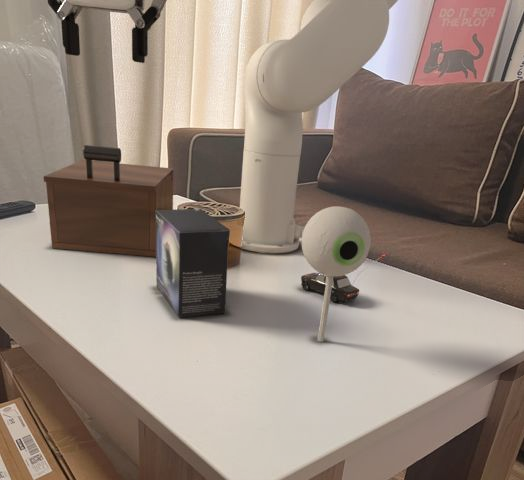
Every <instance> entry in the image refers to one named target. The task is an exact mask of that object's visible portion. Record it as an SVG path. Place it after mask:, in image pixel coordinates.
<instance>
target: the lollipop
mask: <svg viewBox="0 0 524 480" xmlns="http://www.w3.org/2000/svg"><path fill="white" fill-rule="evenodd" d="M304 226H305V228H304V231H303V234H302V238H301V251H302V253H303V256H304V258H305V260H306V262H307V263H308V264H309V266H310V267H311V268H312V269H313V270H315V272H317V273H322V274H324V275H327V281H326V287H325V294H324V293H323V301H322V307H321V313H320V314H321V315H320V319H319V320H320V321H319V328H318V333H317V341H318V342H320V343H323V342H324V340H325V333H326V326H327V320H328V316H329V315H328V314H329V308H330V302H331V300H330V296H331V289H332V283H333V277H334V276H343V275H345V276H347V275H349V274H351V273H353V272H355V271H357V270H358V269H359V268H360V267H361V266H362V265H363V264H364V262H365V261H366V260H367V257H368V255H369V252H370V249H371V243H372V240H371V231H370V228H369V226H368V224H367V221H365V219H364V218H363V217H362V216H361V215H360V213H358V212H357V211H356V210H353V209H352V208H349V207H345V206H338V205H337V206H335V205H333V206H329V207H325V208H323V209H321V210H320V211H317V212H316V213H315V214H313V215H312V216H311V217H310V219H309V220H308V221H307V223H306V224H305V225H304Z"/></svg>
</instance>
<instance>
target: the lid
mask: <svg viewBox="0 0 524 480" xmlns="http://www.w3.org/2000/svg"><path fill="white" fill-rule="evenodd" d="M82 153H83V158H84V159H82V160H79V161H77V162H74V163H72V164H69V165H67V166H64V167H62V168H61V169H58V170H55V171H53V172H50V173H48V174H46V175H43V182H44V183H46V182H52V183H63V184H74V185H85V186H96V187H107V188H118V189H129V190H140V191H151V192H155V191H156V190H157V189H158V188H159V187H160V186H161V185H162V184H163V183H164V182H165V181H166V180H167V179H168V178H169V177H170V176H171V175H172V174H173V175H174V168H172V167H163V166H162V167H161V166H152V165H150V166H149V165H139V164H130V163H121V161H122V150H121V148H120V147H111V146H102V145H93V144H92V145H90V144H84V145H83V148H82Z"/></svg>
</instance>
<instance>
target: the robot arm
mask: <svg viewBox="0 0 524 480" xmlns="http://www.w3.org/2000/svg"><path fill="white" fill-rule="evenodd" d="M398 1H399V0H313V1H311V3H310V4H309V5H308V7H307V9H306V10H305V11H304V14H303V16H302V19H301V23H300V30H299V31H298V32H297V33H296V34H295V35H294V36H292V37H291V38H290V39H287V38H285V39H278V40H272V41H269V42H266V43H264V44H263V45H261V46H260V47H258V48H257V49H256V50H255V51H254V52H253V54H252V55H251V57H250V58H249V60H248V63H247V65H246V69H245V73H244V106H245V109H244V111H245V113H244V114H245V122H244V123H245V124H244V141H243V142H244V143H243V153H242V167H241V183H240V197H239V209H240V208H241V209H243V210H244V211H245V222H244V229H243V240H242V246H241V248H240V249H241V250H245V251H250V252H253V253H254V252H255V253H261V254H262V253H263V254H286V253H292V252H294V251H296V250H298V249H299V246H300V239H302V234H303V231H304V228H305V226H306V225H298V224H297V223H296V220H295V217H294V213H295V205H296V198H297V197H296V196H297V189H298V180H299V179H298V178H299V173H300V172H299V171H300V162H301V155H302V147H303V135H304V133H303V131H304V125H303V113H308V112H310V111H313V110H315V109H316V108H318V107H319V106H321V105H322V104H323V103H325V102H326V101H327V100H328V99H329V98H331V97H332V96H333V95H334V94H335V93H336V92H337V91H338V90H339V89H341V87H343V86H344V85H345V84H347V82H348V81H349V80H350V79H351V78H352V77H353V76H354V75H355V74H357V73H358V72H359V71H360V70H361V69H362V68H363V67H364V66H365V65H366V64H367V63H368V62H369V61H371V59H372V58H373V57H374V56H375V55H376V54H377V53H378V51H379V49H380V48H381V46H382V45H383V43H384V41H385V39H386V36H387V34H388V30H389V26H390V10H391V9H392V8H393V7H394V6H395V4H397V2H398ZM166 3H167V0H152V1H151V4H150V7H148V9H147V10H145V8H146V0H64V1H61V0H47V4H48V5H49V7H50V9H52V11H53V12H54V13H55V14H56V17H57V19H58V20H60V21H61V23H60V24H61V38H62V47H63V48H64V52H65V54H66V55H69V56H75V57H76V56H77V57H79V56H80V55H81V46H80V45H81V43H80V27H79V24H78V23H76V19H77V17H78V16H79V15H80V13H81V12H82V10H83V9H86V10H90V11H98V12H99V11H100V12H107V13H119V14H128V15H129V17H130V18H131V20H132V21H133V23H134V27H132V28H131V58H132V61H133V62H135V63H141V64H145V63H146V62H145V61H146V57H148V54H149V53H148V51H149V49H148V48H149V42H148V38H149V37H148V36H149V34H148V32H149V31H150V30H151V29H152V26H153V25H154V24H155V23H156V22H157V21H158V20H159V18H160V17H161V13H162V11H163V9H164V7H165V5H166ZM144 11H145V12H144Z"/></svg>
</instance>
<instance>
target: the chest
mask: <svg viewBox="0 0 524 480" xmlns="http://www.w3.org/2000/svg"><path fill="white" fill-rule="evenodd" d="M45 185H46V196H47V207H48V208H47V209H48V218H49V228H50V229H49V230H50V240H51V248H52V249H57V250H58V249H60V250H71V251H80V252H81V251H82V252H93V253H94V252H95V253H106V254H116V255H130V256H139V257H140V256H141V257H153V258H156V212H155V211H156V210H174V173H173V174H172V175H171V176H170V177H169V178H168V179H167V180H166V181H165V182H164V183H163V184H162V185H161V186H160V187H159V188H158V189H157V190H156V191H155V192H151V191H140V190H129V189H118V188H107V187H96V186H85V185H74V184H63V183H52V182H45Z"/></svg>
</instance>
